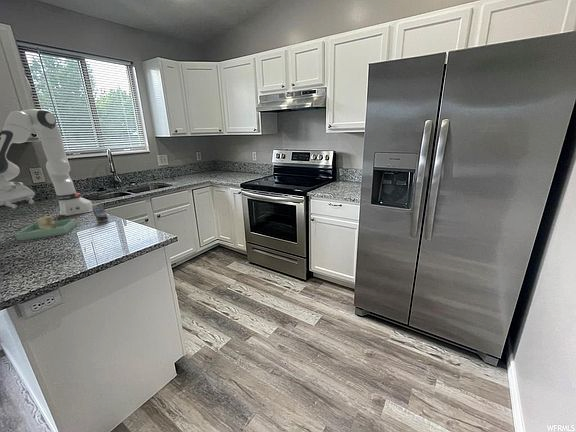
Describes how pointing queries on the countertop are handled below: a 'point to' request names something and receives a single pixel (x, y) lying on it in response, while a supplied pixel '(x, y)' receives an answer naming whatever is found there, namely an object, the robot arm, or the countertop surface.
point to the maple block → (46, 223)
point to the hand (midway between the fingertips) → (24, 205)
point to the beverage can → (99, 212)
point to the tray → (35, 232)
